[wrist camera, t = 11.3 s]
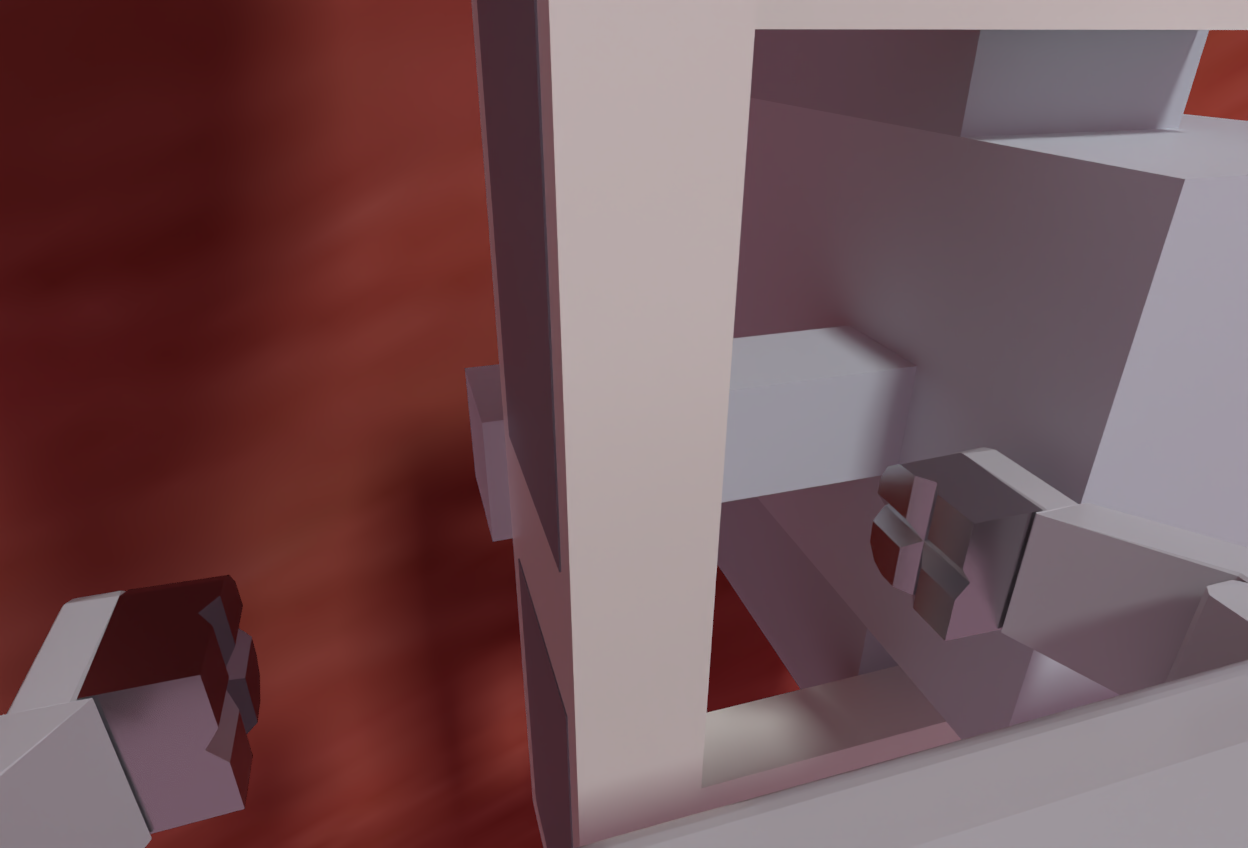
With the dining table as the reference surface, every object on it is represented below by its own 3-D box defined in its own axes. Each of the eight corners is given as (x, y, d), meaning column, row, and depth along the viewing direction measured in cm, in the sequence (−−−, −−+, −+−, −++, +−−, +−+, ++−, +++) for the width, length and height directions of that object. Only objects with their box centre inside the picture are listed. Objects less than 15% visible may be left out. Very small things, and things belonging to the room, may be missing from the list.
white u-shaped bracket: (1227, -69, 11) (1630, -111, 7) (1001, 679, 17) (1160, 840, 14) (461, -103, 8) (538, -194, 5) (531, 801, 14) (585, 1041, 11)
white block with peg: (953, -74, 19) (1749, -204, 8) (858, 494, 26) (1207, 822, 15) (390, -98, 15) (467, -379, 5) (464, 563, 22) (561, 1047, 12)
